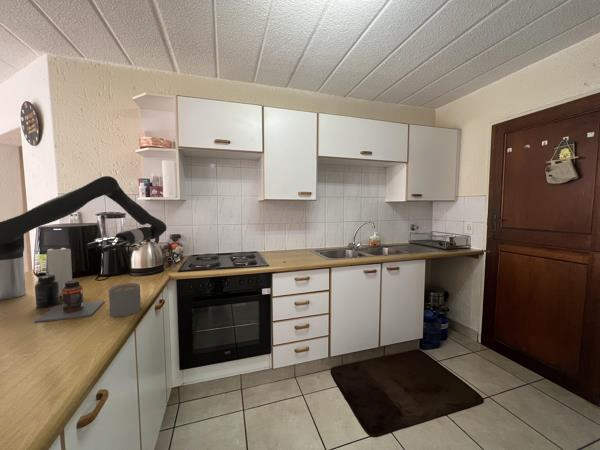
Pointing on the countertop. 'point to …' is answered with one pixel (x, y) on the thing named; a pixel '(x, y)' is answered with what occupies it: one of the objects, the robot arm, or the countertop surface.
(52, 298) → the supplement bottle
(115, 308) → the coffee mug
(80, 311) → the mat
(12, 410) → the countertop surface
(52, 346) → the countertop surface
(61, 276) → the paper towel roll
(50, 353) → the countertop surface
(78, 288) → the supplement bottle
